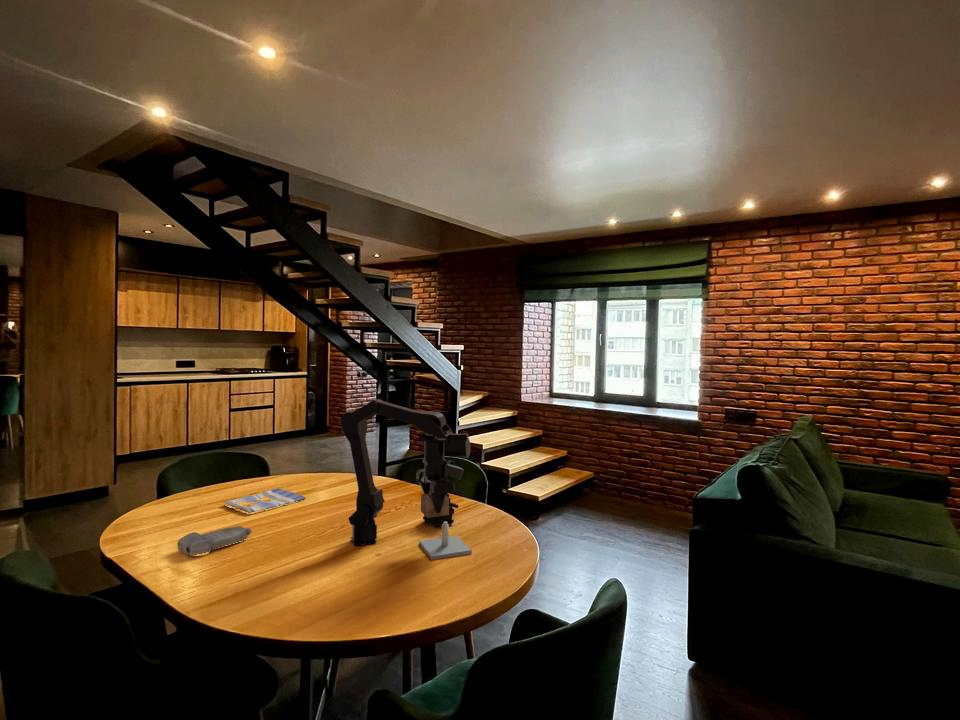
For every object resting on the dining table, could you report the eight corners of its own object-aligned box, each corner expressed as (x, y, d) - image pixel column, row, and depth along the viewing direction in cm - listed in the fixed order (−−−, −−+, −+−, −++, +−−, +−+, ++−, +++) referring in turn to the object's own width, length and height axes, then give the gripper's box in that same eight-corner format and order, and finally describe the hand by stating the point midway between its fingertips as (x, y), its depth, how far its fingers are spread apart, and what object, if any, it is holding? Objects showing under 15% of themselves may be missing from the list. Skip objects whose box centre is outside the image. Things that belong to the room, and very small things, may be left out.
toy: (448, 533, 161) (448, 502, 161) (420, 522, 171) (421, 492, 171) (465, 528, 166) (466, 497, 166) (438, 517, 176) (438, 488, 176)
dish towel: (221, 508, 184) (221, 500, 184) (279, 493, 203) (279, 486, 203) (247, 517, 174) (247, 509, 174) (306, 501, 193) (306, 494, 193)
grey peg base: (431, 559, 141) (431, 531, 141) (419, 544, 152) (419, 518, 152) (471, 553, 146) (472, 526, 146) (456, 538, 157) (457, 513, 157)
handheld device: (260, 539, 154) (260, 524, 154) (191, 562, 138) (191, 545, 138) (243, 532, 160) (243, 517, 160) (174, 553, 143) (174, 536, 143)
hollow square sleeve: (427, 517, 144) (427, 500, 144) (420, 511, 150) (420, 494, 150) (449, 514, 147) (448, 497, 147) (441, 508, 153) (441, 491, 153)
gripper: (472, 460, 143) (472, 515, 143) (449, 448, 160) (450, 497, 160) (434, 463, 138) (434, 520, 139) (415, 451, 156) (415, 502, 156)
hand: (434, 509), depth 148 cm, fingers closed on hollow square sleeve, 6 cm apart
